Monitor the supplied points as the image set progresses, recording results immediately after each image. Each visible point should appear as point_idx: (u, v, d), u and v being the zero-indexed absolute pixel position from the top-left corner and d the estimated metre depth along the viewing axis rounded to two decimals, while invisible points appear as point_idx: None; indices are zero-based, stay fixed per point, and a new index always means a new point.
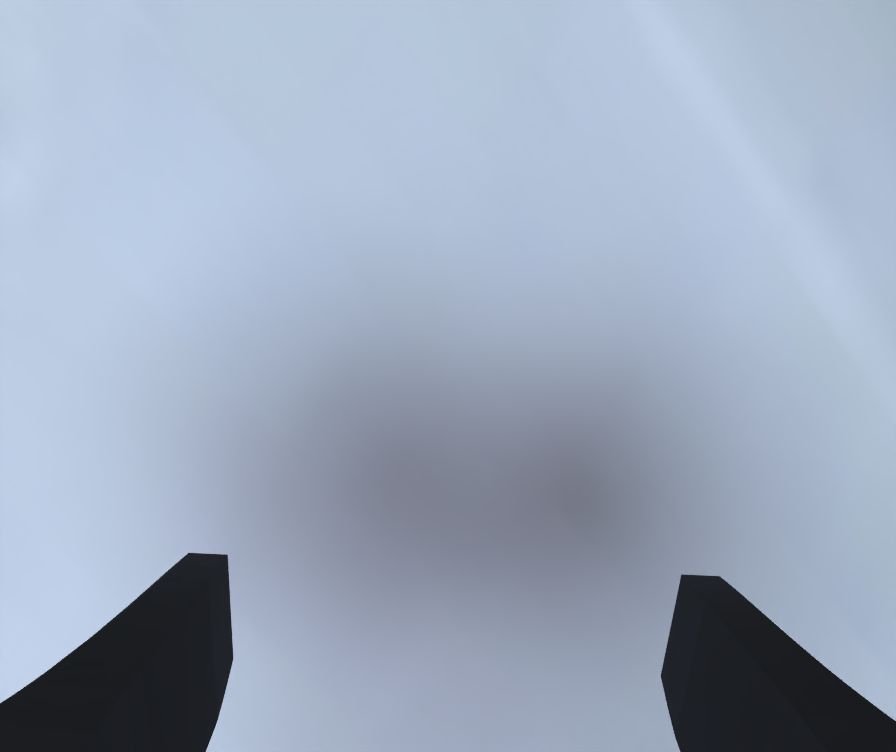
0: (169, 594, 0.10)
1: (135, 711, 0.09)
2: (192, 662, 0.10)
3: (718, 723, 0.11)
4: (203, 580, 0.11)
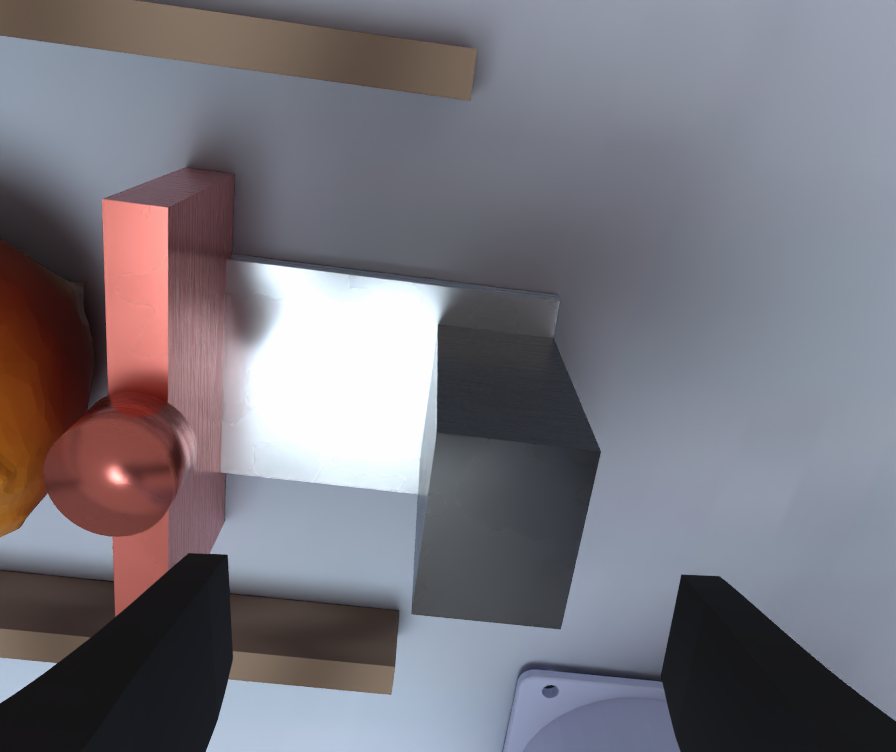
0: (169, 594, 0.10)
1: (135, 711, 0.09)
2: (192, 662, 0.10)
3: (718, 723, 0.11)
4: (203, 580, 0.11)
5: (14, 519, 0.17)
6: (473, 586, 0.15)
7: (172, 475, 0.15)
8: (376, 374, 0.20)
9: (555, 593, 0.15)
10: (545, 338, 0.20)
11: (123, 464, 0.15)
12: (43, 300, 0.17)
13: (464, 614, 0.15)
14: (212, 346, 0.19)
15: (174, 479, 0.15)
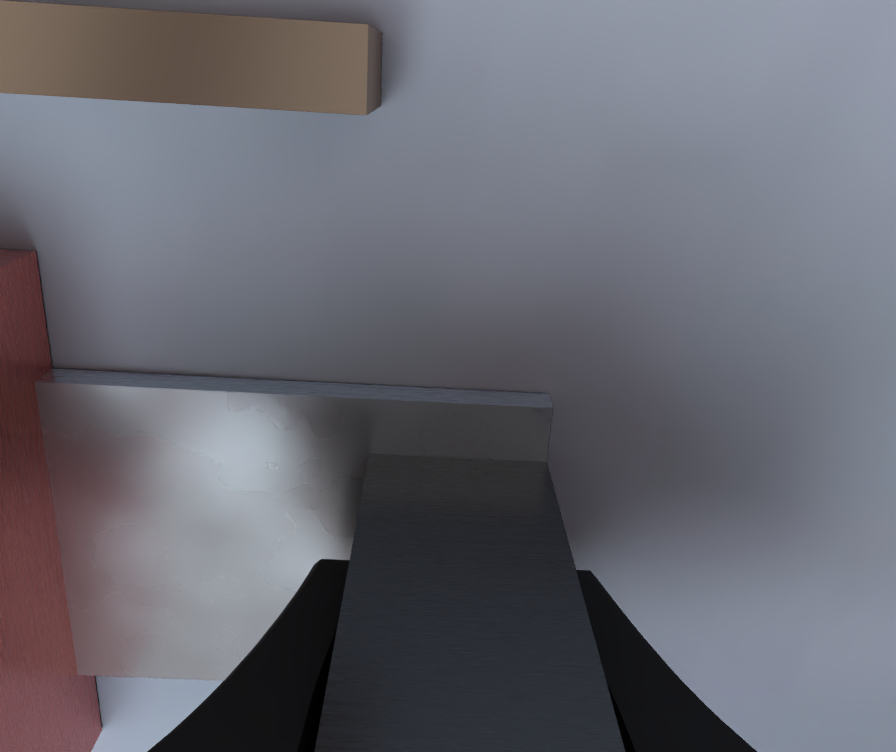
0: (320, 601, 0.10)
1: (314, 718, 0.09)
2: None
3: None
4: None
5: None
6: None
7: None
8: (285, 530, 0.14)
9: None
10: (534, 464, 0.13)
11: None
12: None
13: None
14: (17, 520, 0.12)
15: None
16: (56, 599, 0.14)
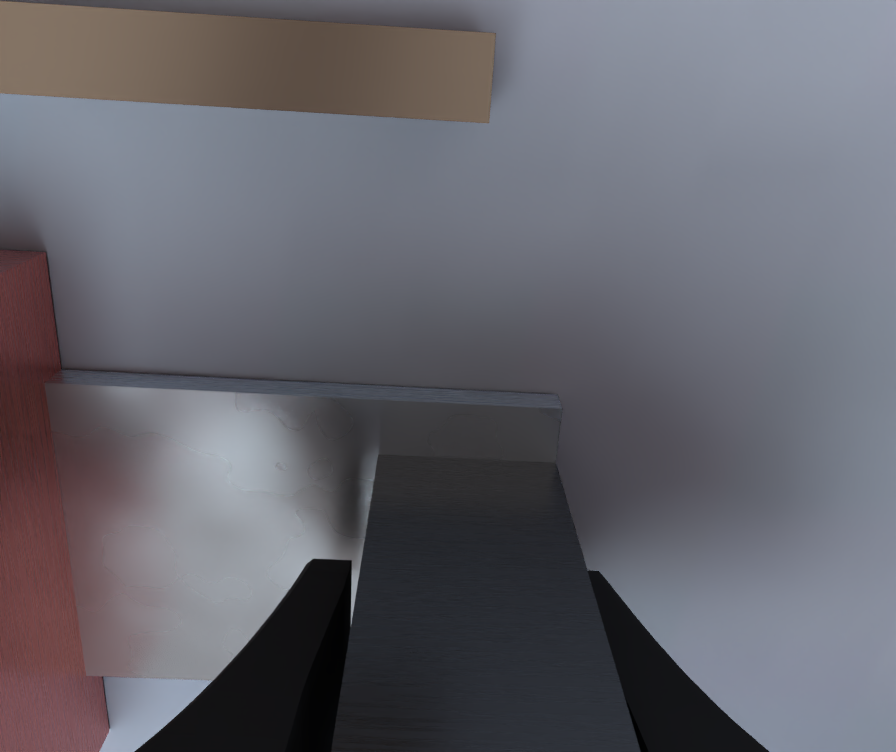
0: (311, 600, 0.10)
1: (304, 718, 0.09)
2: (333, 668, 0.10)
3: None
4: (339, 586, 0.11)
5: None
6: None
7: None
8: (294, 530, 0.14)
9: None
10: (543, 464, 0.13)
11: None
12: None
13: None
14: (27, 521, 0.12)
15: None
16: (65, 600, 0.14)
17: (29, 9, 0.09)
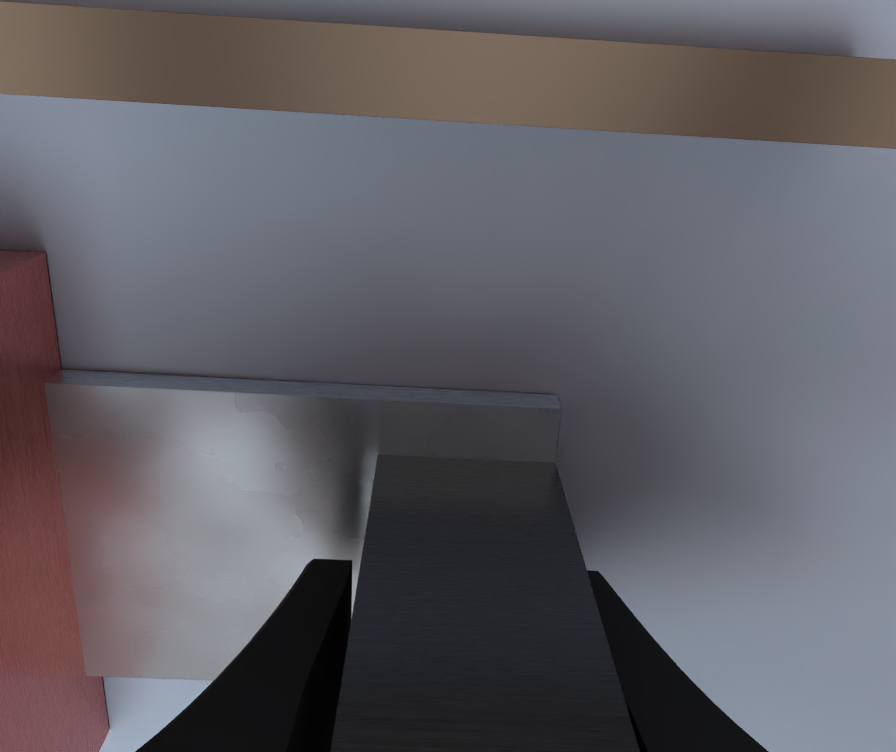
0: (312, 600, 0.10)
1: (305, 718, 0.09)
2: (334, 668, 0.10)
3: None
4: (340, 586, 0.11)
5: None
6: None
7: None
8: (294, 530, 0.14)
9: None
10: (543, 464, 0.13)
11: None
12: None
13: None
14: (27, 521, 0.12)
15: None
16: (65, 600, 0.14)
17: (506, 40, 0.09)
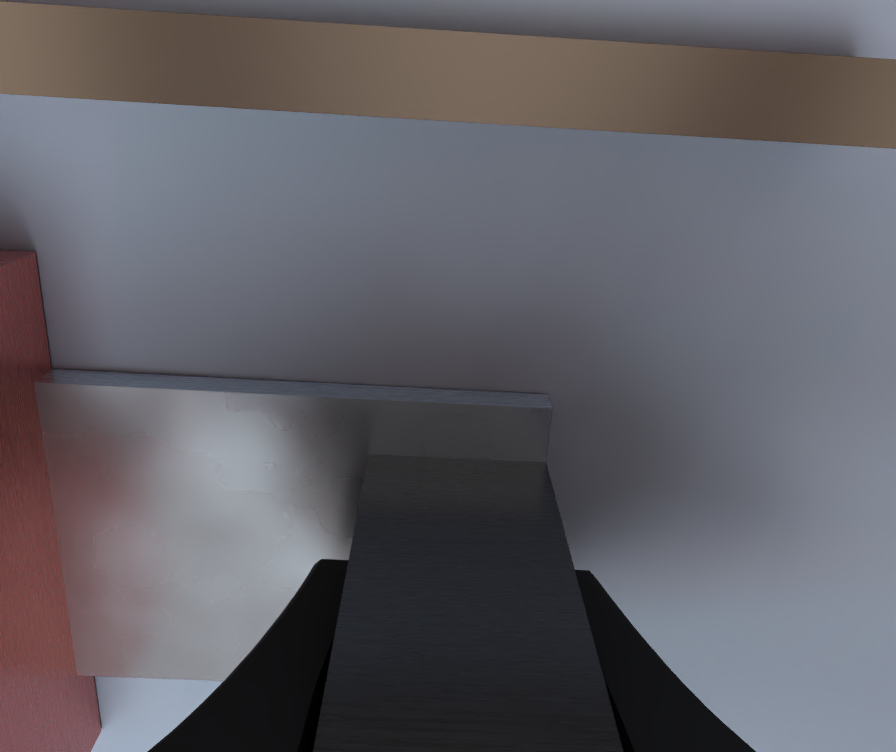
0: (320, 601, 0.10)
1: (315, 718, 0.09)
2: None
3: None
4: None
5: None
6: None
7: None
8: (284, 530, 0.14)
9: None
10: (533, 464, 0.13)
11: None
12: None
13: None
14: (16, 521, 0.12)
15: None
16: (55, 599, 0.14)
17: (509, 40, 0.09)
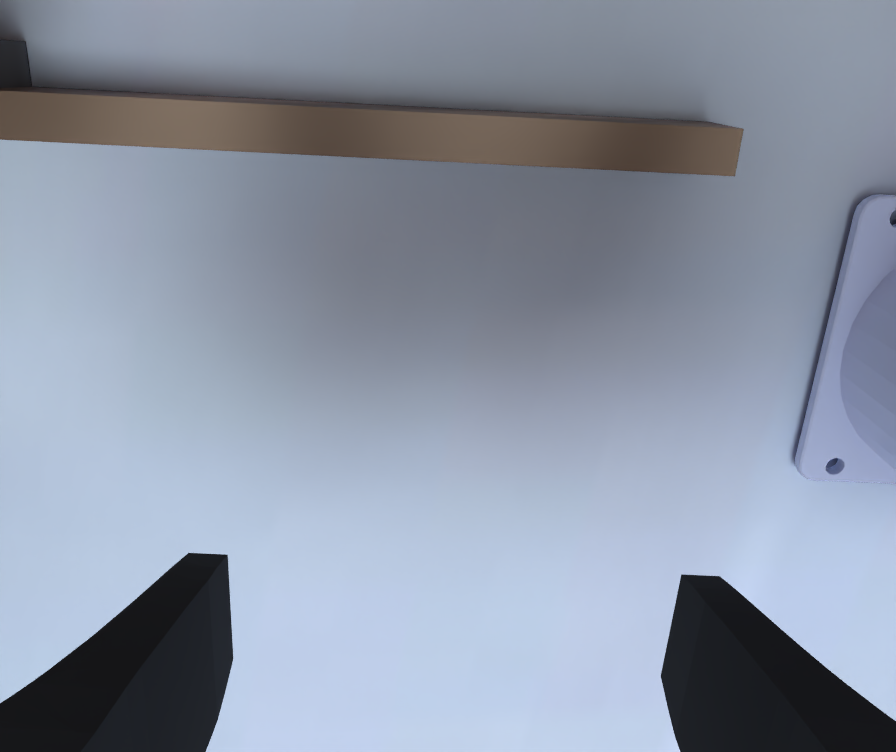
0: (169, 594, 0.10)
1: (135, 711, 0.09)
2: (192, 662, 0.10)
3: (718, 723, 0.11)
4: (203, 580, 0.11)
5: None
6: None
7: None
8: None
9: None
10: None
11: None
12: None
13: None
14: None
15: None
16: None
17: None
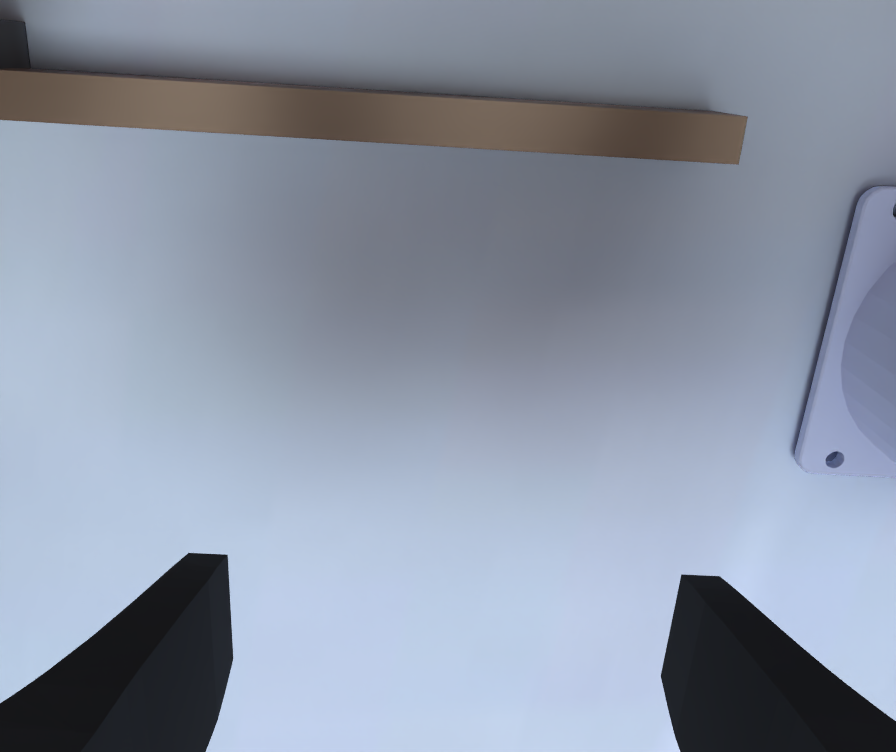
0: (169, 594, 0.10)
1: (135, 712, 0.09)
2: (192, 662, 0.10)
3: (717, 723, 0.11)
4: (203, 580, 0.11)
5: None
6: None
7: None
8: None
9: None
10: None
11: None
12: None
13: None
14: None
15: None
16: None
17: None
